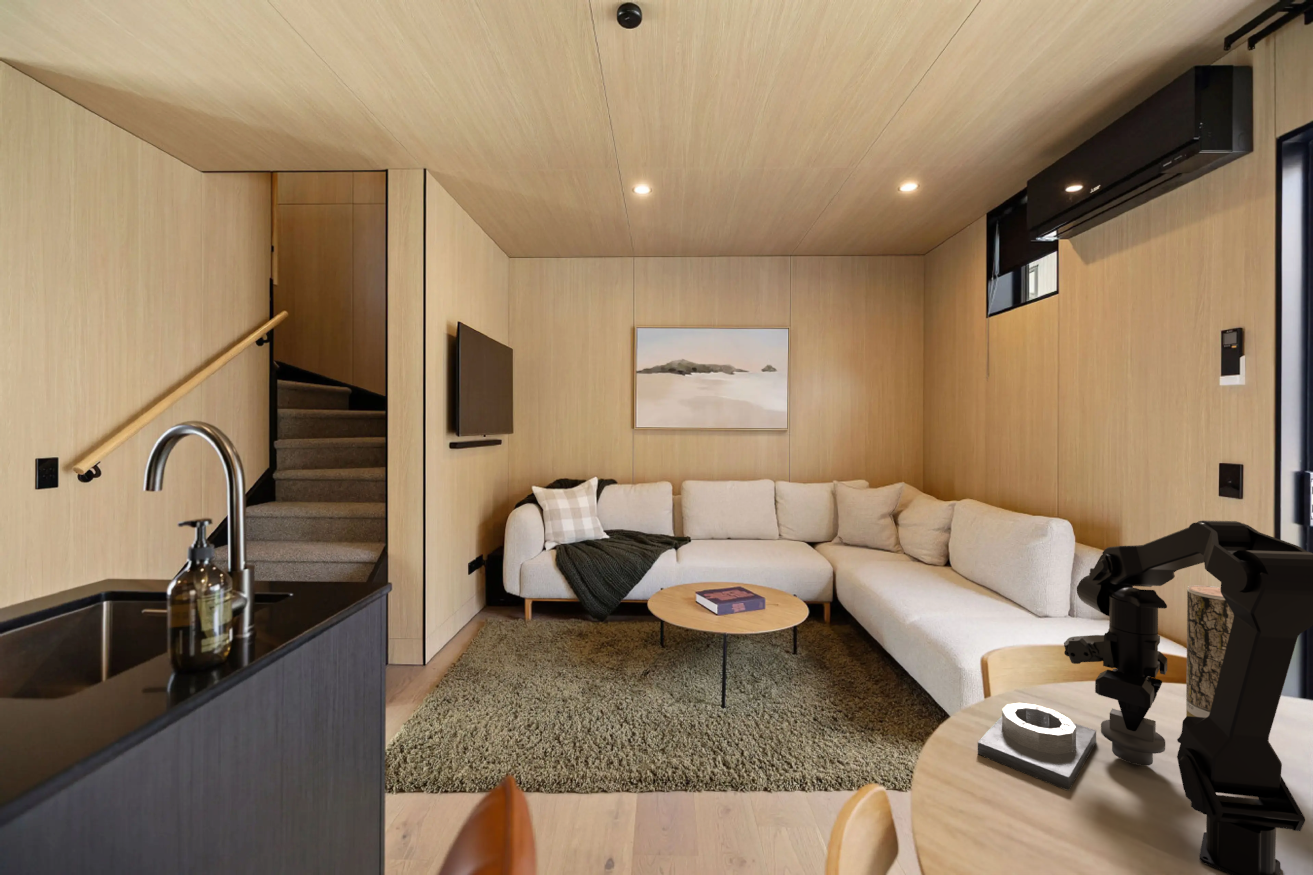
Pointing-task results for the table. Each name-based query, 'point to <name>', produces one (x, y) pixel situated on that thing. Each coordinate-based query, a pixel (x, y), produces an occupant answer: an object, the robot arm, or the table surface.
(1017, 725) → the ring on base plate
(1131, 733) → the grip bar knob
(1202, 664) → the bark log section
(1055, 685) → the table surface
